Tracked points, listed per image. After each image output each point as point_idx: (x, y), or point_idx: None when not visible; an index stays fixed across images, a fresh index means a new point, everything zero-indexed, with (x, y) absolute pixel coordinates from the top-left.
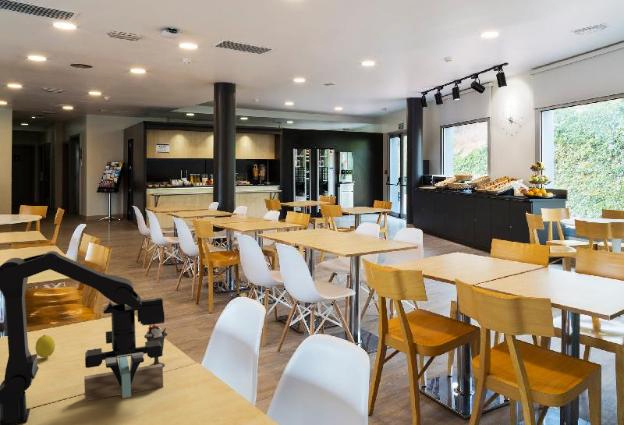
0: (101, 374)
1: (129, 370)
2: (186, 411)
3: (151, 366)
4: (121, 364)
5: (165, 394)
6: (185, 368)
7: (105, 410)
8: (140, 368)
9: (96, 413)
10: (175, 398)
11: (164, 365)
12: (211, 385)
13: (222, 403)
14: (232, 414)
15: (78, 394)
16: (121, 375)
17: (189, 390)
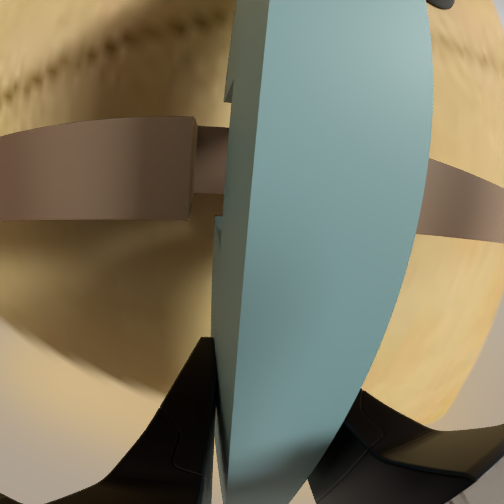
0: (16, 165)
1: (296, 491)
2: (381, 401)
3: (485, 208)
4: (257, 383)
5: (401, 286)
6: (501, 89)
7: (128, 331)
8: (432, 197)
9: (95, 338)
10: (407, 329)
11: (453, 2)
12: (496, 276)
13: (448, 376)
14: (426, 413)
15: (7, 89)
16: (221, 466)
17: (458, 286)
